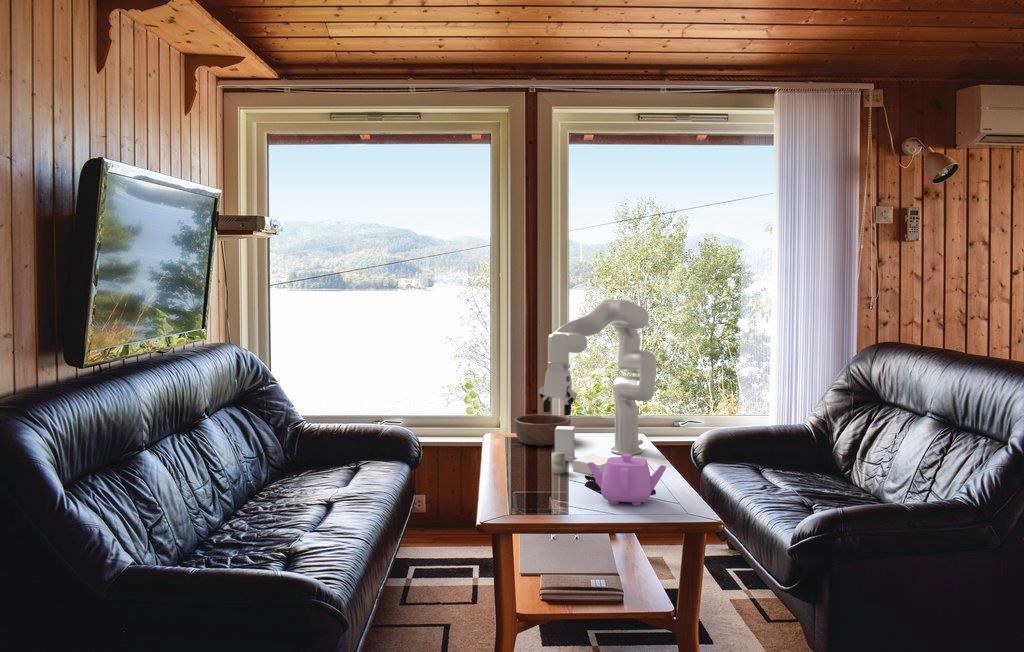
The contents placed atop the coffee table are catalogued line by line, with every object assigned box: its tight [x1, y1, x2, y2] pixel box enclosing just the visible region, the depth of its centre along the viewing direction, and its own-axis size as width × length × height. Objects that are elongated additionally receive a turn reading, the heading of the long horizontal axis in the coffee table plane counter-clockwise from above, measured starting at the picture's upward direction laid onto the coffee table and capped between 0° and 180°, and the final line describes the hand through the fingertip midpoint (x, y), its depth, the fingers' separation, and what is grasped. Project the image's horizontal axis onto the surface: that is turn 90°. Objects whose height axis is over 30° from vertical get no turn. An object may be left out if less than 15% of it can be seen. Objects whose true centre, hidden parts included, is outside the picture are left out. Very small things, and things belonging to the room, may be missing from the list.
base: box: [572, 454, 610, 475], centre depth 279 cm, size 12×12×4 cm
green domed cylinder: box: [551, 451, 566, 475], centre depth 276 cm, size 5×5×7 cm
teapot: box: [587, 454, 667, 507], centre depth 240 cm, size 19×18×15 cm
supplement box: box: [554, 425, 576, 462], centre depth 297 cm, size 7×7×13 cm
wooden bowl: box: [513, 413, 572, 447], centre depth 329 cm, size 25×25×10 cm
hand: (556, 413), depth 274 cm, fingers open, 9 cm apart
